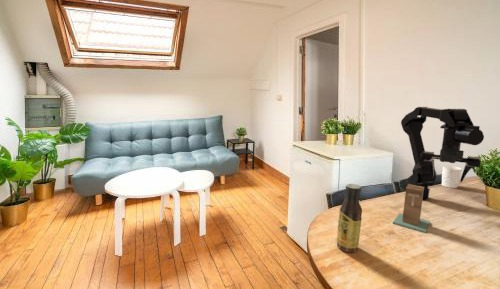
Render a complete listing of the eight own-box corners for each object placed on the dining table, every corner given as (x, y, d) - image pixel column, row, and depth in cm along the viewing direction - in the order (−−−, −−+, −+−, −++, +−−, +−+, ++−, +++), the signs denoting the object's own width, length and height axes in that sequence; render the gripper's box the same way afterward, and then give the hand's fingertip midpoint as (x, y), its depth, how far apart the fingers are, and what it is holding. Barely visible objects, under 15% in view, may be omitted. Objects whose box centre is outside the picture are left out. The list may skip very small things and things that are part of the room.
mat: (392, 223, 95) (392, 221, 95) (399, 214, 103) (399, 213, 103) (425, 232, 89) (425, 231, 89) (429, 222, 96) (430, 221, 96)
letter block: (404, 216, 99) (408, 184, 97) (419, 220, 96) (424, 186, 94) (402, 221, 95) (406, 187, 93) (418, 226, 92) (422, 190, 90)
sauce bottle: (333, 242, 82) (337, 181, 79) (352, 241, 83) (357, 181, 79) (342, 254, 76) (347, 189, 72) (362, 253, 76) (368, 188, 73)
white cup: (456, 185, 139) (459, 166, 138) (460, 189, 132) (463, 170, 131) (438, 182, 143) (441, 165, 141) (442, 187, 136) (444, 168, 134)
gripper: (419, 140, 103) (415, 179, 105) (483, 146, 90) (476, 189, 93) (424, 137, 111) (420, 173, 113) (483, 142, 99) (477, 182, 101)
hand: (446, 179), depth 105 cm, fingers open, 9 cm apart
